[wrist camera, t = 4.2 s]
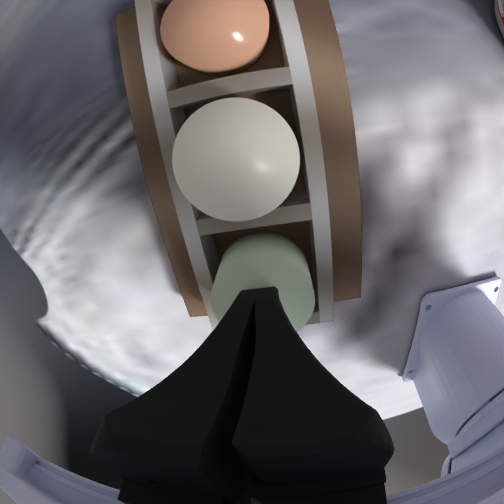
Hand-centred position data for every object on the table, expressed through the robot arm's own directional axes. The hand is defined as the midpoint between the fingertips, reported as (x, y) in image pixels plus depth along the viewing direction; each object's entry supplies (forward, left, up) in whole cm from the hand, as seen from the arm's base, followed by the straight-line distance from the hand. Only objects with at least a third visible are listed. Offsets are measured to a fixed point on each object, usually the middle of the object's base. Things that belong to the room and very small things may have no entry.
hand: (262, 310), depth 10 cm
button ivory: (+5, 0, -3) cm, 6 cm away
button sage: (0, 0, -3) cm, 3 cm away
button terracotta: (+11, 0, -4) cm, 12 cm away
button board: (+5, 0, -6) cm, 8 cm away
